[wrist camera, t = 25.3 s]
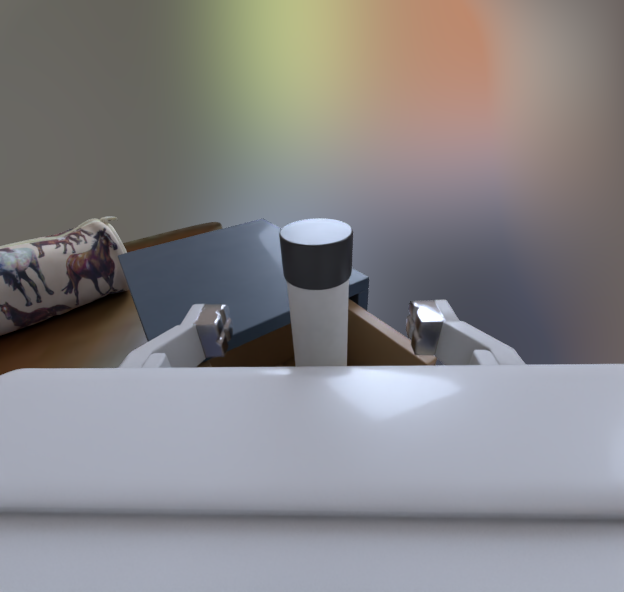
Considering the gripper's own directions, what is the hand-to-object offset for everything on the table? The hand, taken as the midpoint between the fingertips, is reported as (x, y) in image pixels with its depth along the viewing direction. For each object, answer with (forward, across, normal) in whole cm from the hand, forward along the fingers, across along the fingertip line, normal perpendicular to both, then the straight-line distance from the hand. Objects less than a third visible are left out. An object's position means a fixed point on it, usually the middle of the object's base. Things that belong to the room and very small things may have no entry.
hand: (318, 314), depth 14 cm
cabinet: (+8, +6, +11) cm, 15 cm away
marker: (-1, 0, +9) cm, 9 cm away
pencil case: (+16, +32, +12) cm, 37 cm away
